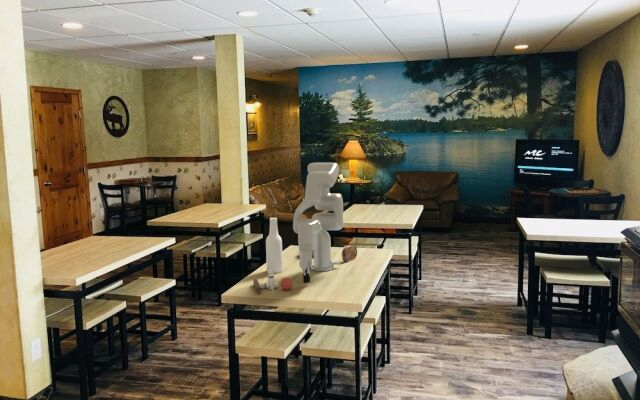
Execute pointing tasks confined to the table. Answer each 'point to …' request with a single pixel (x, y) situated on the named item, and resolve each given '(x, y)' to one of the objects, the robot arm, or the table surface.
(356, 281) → the table surface
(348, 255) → the brown rock slab
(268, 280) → the back pin right
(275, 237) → the alcohol
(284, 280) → the ball
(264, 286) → the front pin
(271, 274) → the back pin left
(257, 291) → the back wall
